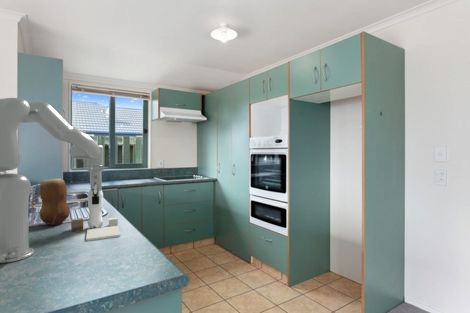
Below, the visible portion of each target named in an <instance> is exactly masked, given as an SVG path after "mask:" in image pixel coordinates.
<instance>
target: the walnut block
mask: <svg viewBox="0 0 470 313" xmlns="http://www.w3.org/2000/svg"><path fill="white" fill-rule="evenodd" d="M70 225H71V228H70V230H71V233H75V232H83V231H84V218H77V219H72V220H71V224H70Z"/></svg>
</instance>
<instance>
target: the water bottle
mask: <svg viewBox="0 0 470 313" xmlns="http://www.w3.org/2000/svg"><path fill="white" fill-rule="evenodd" d="M97 190H99V189H97ZM98 195H99V204H92V191H91V188H90V189H89V191H88V193H87V208H88V212H89V216H88V217H89V218H88V220H87V225H88V227H89V229H95V228H102V226H103V225H104V219H103V214H102V211H103V207H104V192H103V189H102V190H101V191H100V190H99V191H98Z"/></svg>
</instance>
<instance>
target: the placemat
mask: <svg viewBox="0 0 470 313" xmlns="http://www.w3.org/2000/svg"><path fill="white" fill-rule="evenodd" d="M120 237H121V232H120V228H119V225H118V226H112V227H109V226H105V227H99V228H96V227H94V228H88V229H87V230H86V238H85V242H91V241H98V240H105V239H112V238H120Z"/></svg>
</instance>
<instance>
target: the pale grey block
mask: <svg viewBox="0 0 470 313" xmlns="http://www.w3.org/2000/svg"><path fill="white" fill-rule="evenodd" d="M118 220H119V219H118V217H109V218H108V227H112V226H118V227H119V225H118V224H119V222H118Z"/></svg>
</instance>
